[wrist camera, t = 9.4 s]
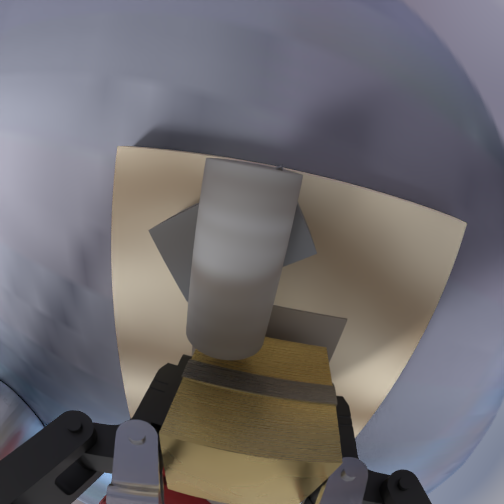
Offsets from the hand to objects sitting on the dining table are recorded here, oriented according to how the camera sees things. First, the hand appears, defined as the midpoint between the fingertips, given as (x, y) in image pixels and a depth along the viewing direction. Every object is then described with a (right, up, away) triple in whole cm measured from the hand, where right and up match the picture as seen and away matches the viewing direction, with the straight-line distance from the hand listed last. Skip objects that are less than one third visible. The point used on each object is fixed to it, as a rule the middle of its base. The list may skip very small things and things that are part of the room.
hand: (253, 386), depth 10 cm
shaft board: (0, -1, +3) cm, 3 cm away
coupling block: (0, 0, 0) cm, 0 cm away
